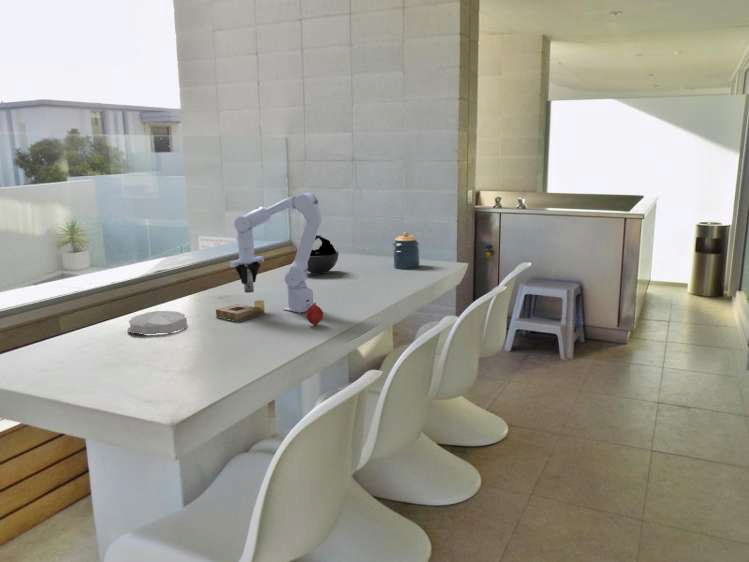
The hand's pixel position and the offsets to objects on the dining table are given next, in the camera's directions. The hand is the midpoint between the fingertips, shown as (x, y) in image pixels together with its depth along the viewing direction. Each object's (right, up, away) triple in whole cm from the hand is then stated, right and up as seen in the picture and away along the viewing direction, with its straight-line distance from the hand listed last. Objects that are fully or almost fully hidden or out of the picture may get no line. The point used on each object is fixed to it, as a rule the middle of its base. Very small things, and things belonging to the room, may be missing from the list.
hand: (248, 282), depth 251 cm
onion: (+28, -15, -25) cm, 40 cm away
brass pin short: (+5, -11, -5) cm, 13 cm away
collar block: (-2, -12, -9) cm, 16 cm away
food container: (-27, -16, -21) cm, 38 cm away
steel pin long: (0, -3, +1) cm, 3 cm away
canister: (+64, +7, +78) cm, 101 cm away
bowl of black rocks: (+21, +4, +69) cm, 72 cm away
